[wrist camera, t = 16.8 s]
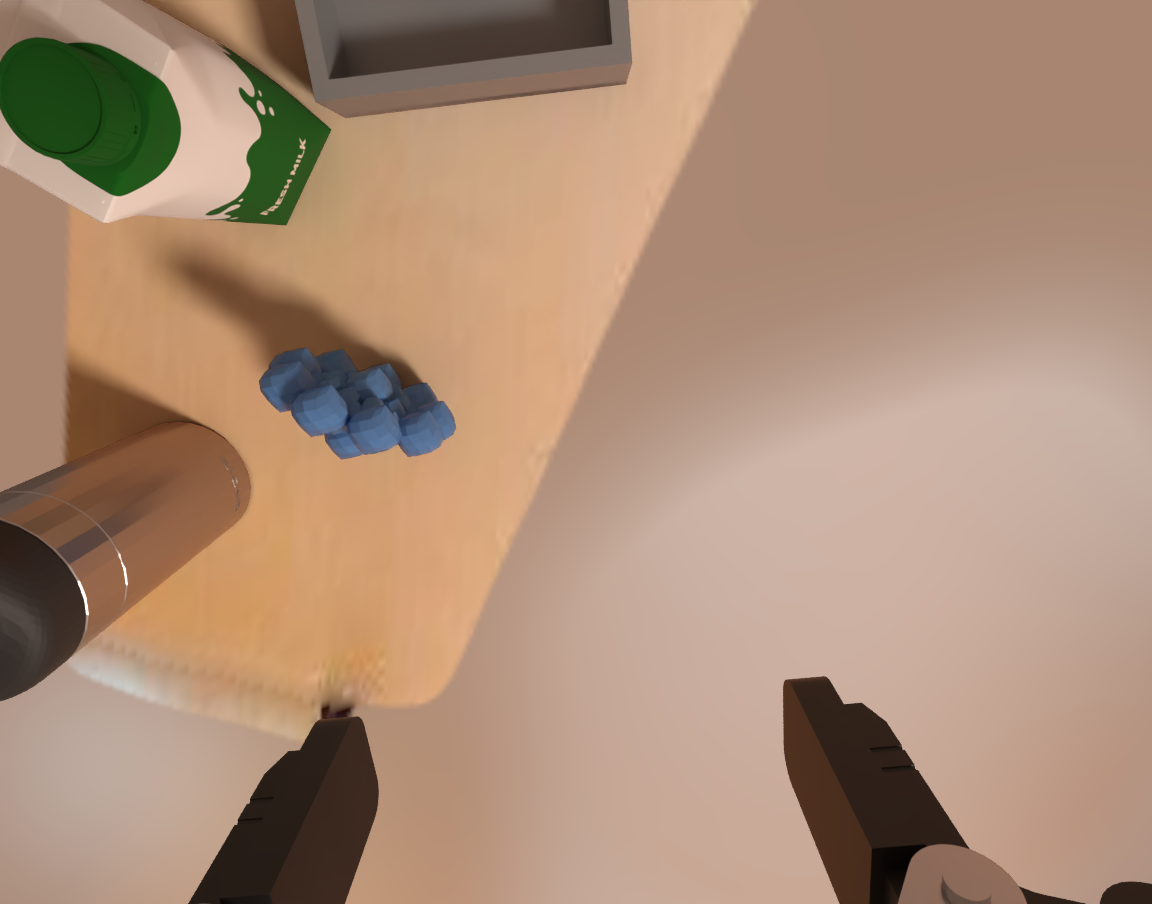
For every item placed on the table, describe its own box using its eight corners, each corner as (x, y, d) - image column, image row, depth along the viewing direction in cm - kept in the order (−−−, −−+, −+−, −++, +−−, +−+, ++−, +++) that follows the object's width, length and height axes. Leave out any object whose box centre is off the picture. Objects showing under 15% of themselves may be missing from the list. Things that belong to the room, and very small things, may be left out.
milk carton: (293, 245, 44) (74, 245, 25) (167, 167, 42) (-169, 104, 23) (351, 124, 42) (158, 22, 23) (220, 37, 40) (-105, -150, 21)
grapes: (293, 398, 47) (201, 448, 36) (325, 314, 45) (239, 338, 34) (440, 467, 49) (398, 535, 37) (477, 388, 47) (444, 434, 35)
